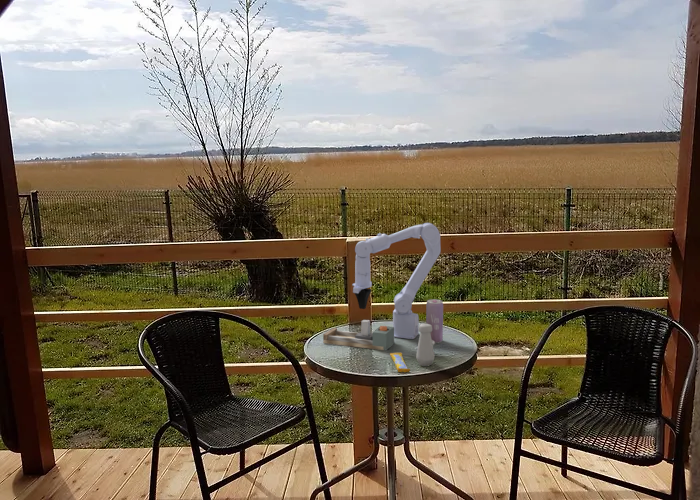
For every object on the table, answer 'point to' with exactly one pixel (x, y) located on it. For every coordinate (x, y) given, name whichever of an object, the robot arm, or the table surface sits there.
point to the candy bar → (399, 362)
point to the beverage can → (435, 319)
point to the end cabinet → (383, 338)
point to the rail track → (347, 339)
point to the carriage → (365, 331)
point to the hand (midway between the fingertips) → (362, 308)
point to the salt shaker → (425, 346)
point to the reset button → (383, 328)
